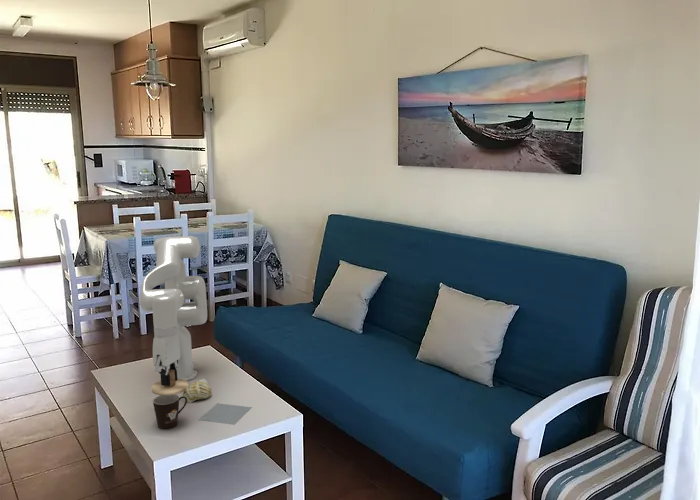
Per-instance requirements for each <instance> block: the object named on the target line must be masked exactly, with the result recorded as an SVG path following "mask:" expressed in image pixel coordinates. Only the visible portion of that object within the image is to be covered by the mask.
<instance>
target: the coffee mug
mask: <svg viewBox="0 0 700 500" xmlns="http://www.w3.org/2000/svg"><path fill="white" fill-rule="evenodd" d="M182 398H185V402H184V403H183V406H182V407H181V408H180V407H179V406H180V405H179V404H180V401H181V400H182ZM152 404H153V408H154V414H155V418H156V422H157V423H156V424H157V427H158V429H159V430H164V431H165V430H172V429H174V428H176V427H177V426H178V424H179V415H180V413H181V412H182V411H183V410H184V409H185V408H186V406H187V404H188V403H187V398H186V397H184V396H180V395H178V394H173V395H158V396H156V397H154V398H153V399H152Z"/></svg>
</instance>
